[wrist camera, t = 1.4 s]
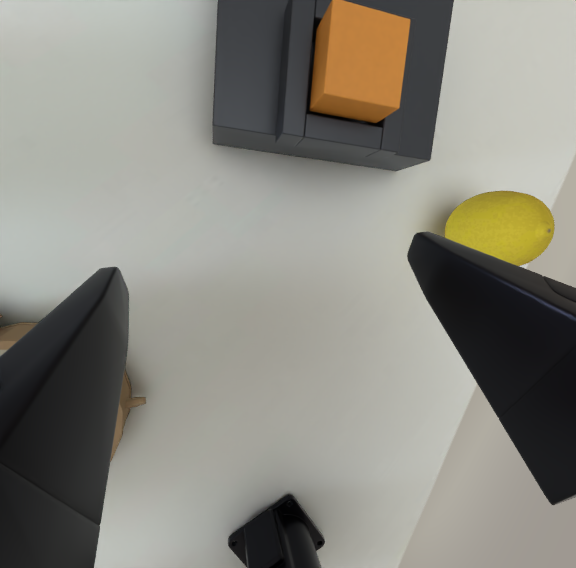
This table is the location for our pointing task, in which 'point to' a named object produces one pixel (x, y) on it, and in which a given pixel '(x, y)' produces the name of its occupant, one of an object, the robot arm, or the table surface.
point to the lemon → (503, 225)
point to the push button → (298, 82)
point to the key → (358, 62)
